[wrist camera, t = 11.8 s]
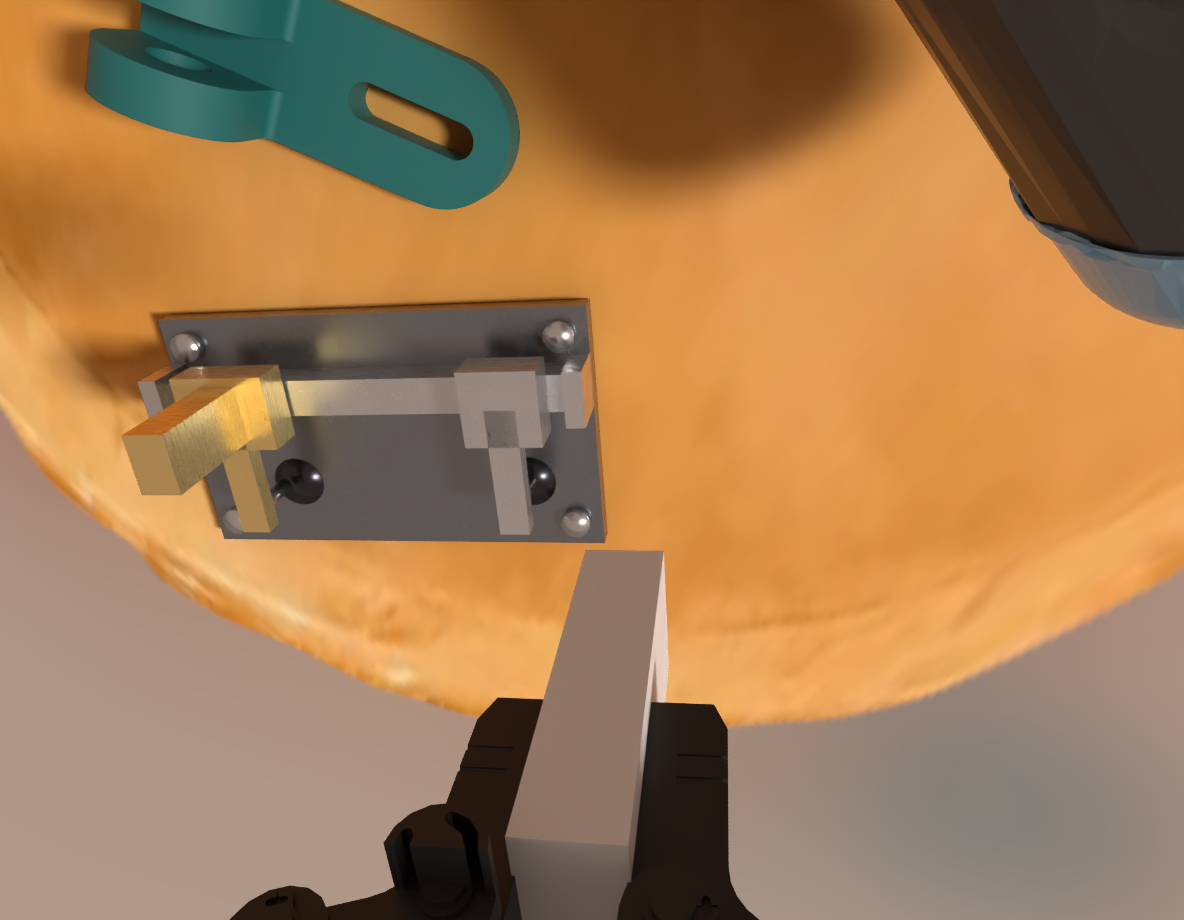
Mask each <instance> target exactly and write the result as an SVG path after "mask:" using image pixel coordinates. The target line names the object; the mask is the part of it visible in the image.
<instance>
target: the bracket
mask: <svg viewBox="0 0 1184 920" xmlns="http://www.w3.org/2000/svg"><path fill="white" fill-rule="evenodd" d="M137 1H140V2H142V12H141V21H140V30H123V29H106V28H100V29H93V30H91V31H90V38H89V49H88V61H87V73H86V84H85V89H86V92H87V93H88V94H89V95H90V96H91V97H92V98H93V99H94V100H96V101H97V102H99V103H101V104H102V105H104V106H106V107H108V108H109V109H111V110H113V111H115V112H118V113H120V114H122V115H124V116H127V117H129V118H132V119H134V120H137V121H139V122H142V123H145V124H148V125H151V126H154V127H157V128H160V129H163V130H167V131H170V132H174V133H178V134H182V135H186V136H190V137H195V138H200V139H206V140H212V141H221V142H243V141H249V140H255V139H261V138H265V139H270V140H273V141H276V142H278V143H280V144H282V145H285V146H287V147H289V148H292V149H294V150H296V151H299V152H301V153H303V154H306V155H308V156H310V157H312V158H315V159H317V160H319V161H322V162H324V163H326V164H329V165H331V166H333V167H336V168H338V169H340V170H342V171H345V172H347V173H349V174H352V175H354V176H356V177H359V178H361V179H363V180H366V181H368V182H370V183H372V184H375V185H377V186H379V187H382V188H384V189H386V190H389V191H391V192H393V193H396V194H398V195H400V196H402V197H405V198H407V199H409V200H412V201H414V202H416V203H419V204H421V205H424V206H427V207H431V208H435V209H457V208H461V207H465V206H468V205H470V204H472V203H474V202H476V201H478V200H480V199H482V198H483V197H485V196H487V195H489V194H490V193H492V192H493V191H494V190H496V189H497V188H498V187H499V186H500V185H501V184H502V183H503V182H504V180H505V179H506V178H507V176H508V175H509V173H510V171H511V170H512V168H513V165H514V163H515V160H516V157H517V153H518V149H519V141H520V130H519V121H518V116H517V112H516V109H515V106H514V103H513V101H512V99H511V97H510V95H509V93H508V91H507V90H506V88H505V87H504V85H503V84H502V83H501V81H500V80H499V79H498V78H497V77H496V76H495V75H494V74H493V73H492V72H491V71H490V70H489V69H487V68H486V67H485V66H483V65H482V64H480V63H478V62H476V61H474V60H472V59H470V58H468V57H466V56H463V55H461V54H459V53H457V52H454V51H452V50H450V49H447V48H445V47H443V46H441V45H438V44H436V43H434V42H432V41H429V40H427V39H425V38H423V37H420V36H418V35H416V34H414V33H411V32H409V31H407V30H405V29H402V28H400V27H398V26H396V25H393V24H391V23H389V22H386V21H384V20H382V19H380V18H377V17H375V16H373V15H371V14H368V13H366V12H364V11H362V10H359V9H357V8H355V7H353V6H350V5H348V4H346V3H344V2H341V1H339V0H137ZM371 84H373V85H375V86H377V87H380V88H382V89H384V90H387V91H389V92H391V93H393V94H396V95H398V96H400V97H403V98H405V99H407V100H409V101H412V102H414V103H416V104H419V105H421V106H423V107H425V108H428V109H430V110H432V111H434V112H437V113H439V114H441V115H444V116H446V117H448V118H450V119H453V120H455V121H457V122H460V123H462V124H464V125H465V126H466V127H467V128H468V129H469V130H470V132H471V134H472V136H473V149H472V152H471V153H470V155H469V156H465V155H462V154H460V153H458V152H455V151H453V150H451V149H448V148H446V147H444V146H442V145H439V144H437V143H435V142H432V141H430V140H428V139H426V138H423V137H421V136H419V135H416V134H414V133H412V132H410V131H407V130H405V129H403V128H400V127H398V126H396V125H393V124H391V123H389V122H387V121H384V120H382V119H380V118H378V117H376V116H374V115H373V114H372V113H371V112H370V111H369V109H368V107H367V104H366V99H365V96H366V91H367V89H368V87H369V86H370V85H371Z"/></svg>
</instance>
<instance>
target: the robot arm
mask: <svg viewBox="0 0 1184 920" xmlns="http://www.w3.org/2000/svg"><path fill="white" fill-rule="evenodd" d="M895 1H896V2H897V4H898V5H899V7H900V9H901V10H902V12H903V13H904V15H905V16H906V18H907V19H908V21H909V22H910V24H911V26H912V27H913V29H914V30H915V32H916V33H917V35H918V36H919V38H920V40H921V41H922V43H923V44H924V46H925V47H926V49H927V50H928V52H929V53H930V55H931V57H932V58H933V60H934V61H935V63H936V64H937V66H938V67H939V69H940V71H941V72H942V74H943V75H944V77H945V78H946V80H947V81H948V83H949V84H950V86H951V88H952V89H953V91H954V92H955V94H956V95H957V97H958V98H959V100H960V101H961V103H962V105H963V106H964V108H965V109H966V111H967V112H968V114H969V115H970V117H971V119H972V120H973V122H974V123H975V125H976V126H977V128H978V129H979V131H980V132H981V134H982V136H983V137H984V139H985V140H986V142H987V143H988V145H989V146H990V148H991V150H992V151H993V153H994V154H995V156H996V157H997V159H998V160H999V162H1000V163H1001V165H1002V167H1003V168H1004V170H1005V171H1006V173H1007V174H1008V176H1009V177H1010V179H1009V184H1010V189H1011V192H1012V195H1013V197H1014V200H1015V202H1016V204H1017V206H1018V207H1019V209H1020V211H1021V213H1022V214H1023V215H1024V216H1025V218H1026V219H1027V220H1028V221H1031V222H1033V224H1034V225H1035V227H1036V228H1037V230H1038V231H1039V232H1040V233H1042V234H1043V235H1045V236H1046V237H1048V238H1050V239H1051V240H1052V241H1053V243H1054V244H1055V245H1056V247H1057V248H1058V249H1059V251H1060V252H1061V254H1062V255H1063V256H1064V258H1065V259H1066V260H1067V262H1068V263H1069V265H1070V266H1071V267H1072V269H1073V270H1074V272H1075V273H1076V274H1077V276H1078V277H1079V278H1080V279H1081V281H1082V282H1083V283H1084V285H1085V286H1086V287H1087V288H1088V289H1089V290H1090V291H1091V292H1093V293H1094V294H1096V295H1097V296H1098V297H1099V298H1101V299H1102V300H1103V301H1105V302H1106V303H1108V304H1109V305H1111V306H1112V307H1113V308H1115V309H1117V310H1119V311H1121V312H1123V313H1125V314H1128V315H1130V316H1133V317H1135V318H1138V319H1141V320H1144V321H1147V322H1150V323H1154V324H1158V325H1162V326H1167V327H1172V328H1177V329H1183V330H1184V0H895ZM668 667H669V664H668V640H667V617H666V593H665V570H664V551H621V550H586V551H585V554H584V558H583V561H582V565H581V568H580V572H579V576H578V579H577V583H576V586H575V590H574V593H573V597H572V600H571V604H570V608H569V611H568V615H567V618H566V622H565V625H564V629H563V632H562V636H561V639H560V643H559V647H558V650H557V654H556V657H555V661H554V664H553V668H552V671H551V675H550V679H549V682H548V686H547V689H546V693H545V696H544V700H543V699H519V698H497V699H496V700H495V701H494V702H493V703H492V704H491V706H490V707H489V708H488V709H487V710H486V711H485V712H484V713H483V714H482V715H481V716H480V717H479V718H478V719H477V722H476V725H475V727H474V730H473V733H472V735H471V738H470V741H469V744H468V750H466V752H465V754H464V757H463V759H462V762H461V765H460V771H459V772H458V773H457V775H456V778H455V781H454V784H453V786H452V789H451V792H450V794H449V797H448V800H447V802H446V804H437V805H430V806H427V807H425V808H423V809H420V810H418V811H415V812H413V813H411V814H410V815H408V816H407V817H406V818H405V819H403V820H402V821H401V822H400V823H398V824H397V825H396V826H395V827H394V828H393V830H392V831H391V833H390V834H389V836H388V837H387V839H386V840H385V842H384V846H385V851H386V854H387V859H388V862H389V866H390V870H391V874H392V878H393V882H394V885H395V887H393V888H391V889H389V890H387V891H386V892H383V893H380V894H377V895H374V896H371V897H368V898H364V899H360V900H355V901H351V902H347V903H342V904H338V905H334V906H329V907H326V906H325V904H324V902H323V900H322V897H321V896H319V895H318V894H316V893H315V892H313V891H312V890H311V889H309V888H305V887H296V886H286V887H283V888H278V889H273V890H269V891H267V892H266V893H264V894H262V895H260V896H258V897H256V898H254V899H253V900H251V901H249V902H248V903H247V904H246V905H245V906H243V907H242V908H241V909H240V910H239V911H238V912H237V913H236V914H235V915H234V916H233V917H232V918H231V919H230V920H759V919H758V918H756V917H755V916H754V915H753V914H752V913H751V912H749V911H748V910H747V909H746V908H745V906H744V905H743V904H742V902H741V901H740V900H739V898H738V897H737V895H736V893H735V891H734V888H733V886H732V884H731V881H730V874H729V865H728V864H729V862H728V729H727V727H726V725H725V724H724V722H723V720H722V718H721V716H720V715H719V713H718V711H717V709H716V707H715V706H714V705H710V704H686V703H665V700H666V689H667V678H668Z"/></svg>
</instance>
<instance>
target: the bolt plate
mask: <svg viewBox="0 0 1184 920" xmlns="http://www.w3.org/2000/svg"><path fill="white" fill-rule="evenodd" d="M158 323H159V326H160V329H161V333H162V336H163V339H164V342H165V346H166V349H167V352H168V355H169V359H170V362H171V364H173V363H187V365H188V368H190V367H202V366H240V365H278V367H279V369H311V368H351V367H391V366H431V365H461V364H462V363H463V362H464V361H465V359H466V358H500V357H538V356H544V363H552V362H566V361H567V359H568V357H569V355H570V354H571V353H584V352H590V361H591V374H592V386H593V399H594V408H593V410H592V413H591V416H590V418H589V421H588V424H587V426H586V428H576V429H566V422H565V412H549V413H550V422H551V432H550V434H549V436H548V438H547V440H546V442H545V445H544V447H543V448H525V454H526V463H527V471H528V476H533V477H534V478H535V479H536V481H537V484H536V486H535V488H534V491H533V493H532V495H531V504H532V513H533V521H534V526H533V529H532V531H531V534H530V535H500V528H499V521H498V514H497V507H496V499H495V492H494V485H493V478H492V471H491V464H490V456H489V449H488V448H465V443H464V437H463V430H462V424H461V417H460V414H396V415H330V416H291V419H292V423H293V427H294V431H295V435H294V436H293V437H292V438H291V439H289V440H288V441H287V442H286V443H285V444H284V445H283V446H281V447H280V448H279V449H278V450H259V451H260V455H261V458H262V462H263V466H264V469H265V473H266V477H267V480H268V484H269V488H270V489H271V488H272V487H273V486H274V485H275V484H277V483H278V482H279V481H280V480H281V479H287V480H289V481H290V482H291V484H292V488H291V490H289V491H288V492H287V493H286V494H285V495H284V496H283V497H282V498H281V499H280V500H279V501H278V502H277V503H276V504H275V505H274V506H275V510H276V514H277V517H278V521H279V524H278V525H277V526H276V527H275V528H274V529H273V530H272V531H271V532H244V531H243V528H242V525H241V521H240V518H239V514H238V511H237V508H236V504H235V501H234V497H233V494H232V490H231V487H230V484H229V480H228V477H227V473H226V470H225V467H224V463H223V462H222V463H221V464H220V465H218V466H217V467H216V468H215V469H213V470H212V471H211V472H210V473H208V474H207V475H206V476H205V477H206V480H207V483H208V486H209V490H210V493H211V496H212V499H213V503H214V506H215V509H216V513H217V516H218V519H219V522H220V526H221V529H222V532H223V535H224V539H284V540H377V541H470V542H563V543H605V540H606V536H607V522H606V509H605V496H604V482H603V469H602V456H601V443H600V430H599V417H598V403H597V390H596V377H595V364H594V351H593V337H592V324H591V311H590V299H574V300H547V301H520V302H493V303H466V304H440V305H413V306H386V307H359V308H332V309H306V310H279V311H252V312H225V313H198V314H171V315H169V316H166V317H164V318H162V319H160V320H158Z"/></svg>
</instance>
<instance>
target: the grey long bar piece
mask: <svg viewBox="0 0 1184 920" xmlns="http://www.w3.org/2000/svg"><path fill="white" fill-rule="evenodd" d="M186 369H188V365H187V363H173V364H169V365H167V366H166V367H164V368H162V369H160V370H158V371H156V372H154V373H153V374H151V375H149V376H147V377H145V378H143V379H142V380H140V381H138V382H137V383H138V386H139V389H140V392H141V395H142V398H143V401H144V404H145V407H146V410H147V413H148V416H149V418H151V417H152V416H154V415H156V414H157V413H159V412H160V411H162V410H164V409H165V408H167V407H168V406H170V405H172V404H173V403H175V399H174V396H173V392H172V389H171V386H170V383H169V379H171V378H172V377H174V376H176V375H178V374H179V373H181V372H183V371H185V370H186ZM279 371H280V375H281V379H282V383H283V387H284V391H285V395H286V399H287V403H288V407H289V411H290V415H291V416H330V415H396V414H460V417H461V424H462V430H463V437H464V443H465V448H488V449H489V456H490V464H491V471H492V478H493V485H494V492H495V499H496V507H497V514H498V521H499V528H500V535H530V534H531V531H532V529H533V526H534V521H533V513H532V504H531V495H532V493H533V491H534V488H535V486H536V484H537V481H536V479H535V478H534V477H533V476H528V471H527V463H526V454H525V448H543V447H544V445H545V442H546V440H547V438H548V436H549V434H550V432H551V422H550V413H549V412H565V422H566V429H576V428H586V426H587V424H588V421H589V418H590V416H591V413H592V410H593V408H594V399H593V386H592V374H591V361H590V352H584V353H571V354H570V355H569V357H568V359H567V361H566V362H552V363H544V356H538V357H500V358H466V359H465V361H464V362H463V363H462V364H461V365H431V366H391V367H351V368H311V369H279Z"/></svg>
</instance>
